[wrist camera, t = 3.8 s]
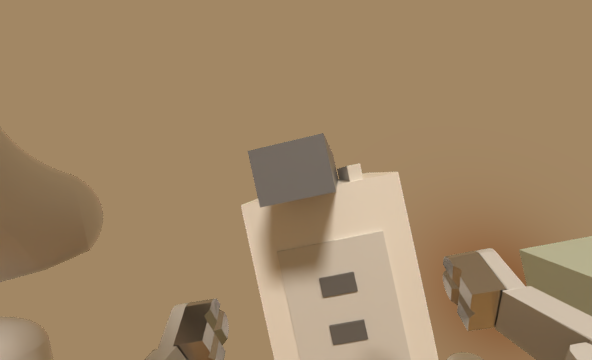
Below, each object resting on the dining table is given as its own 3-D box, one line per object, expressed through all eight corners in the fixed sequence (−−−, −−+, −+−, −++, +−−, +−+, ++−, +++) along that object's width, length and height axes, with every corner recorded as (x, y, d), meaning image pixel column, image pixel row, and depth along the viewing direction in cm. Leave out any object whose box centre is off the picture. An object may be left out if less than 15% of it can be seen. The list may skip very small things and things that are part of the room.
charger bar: (336, 191, 15) (323, 133, 15) (260, 207, 16) (247, 151, 16) (338, 179, 35) (332, 153, 35) (304, 186, 36) (298, 161, 36)
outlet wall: (490, 592, 22) (396, 155, 22) (326, 609, 23) (235, 190, 23) (422, 426, 36) (365, 162, 36) (324, 441, 37) (268, 184, 37)
